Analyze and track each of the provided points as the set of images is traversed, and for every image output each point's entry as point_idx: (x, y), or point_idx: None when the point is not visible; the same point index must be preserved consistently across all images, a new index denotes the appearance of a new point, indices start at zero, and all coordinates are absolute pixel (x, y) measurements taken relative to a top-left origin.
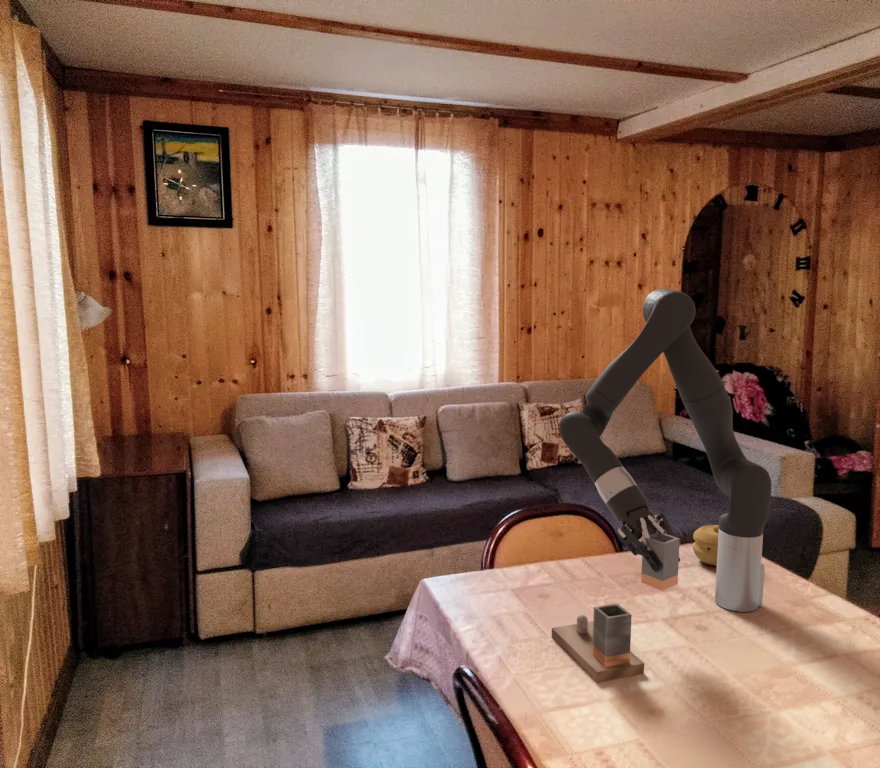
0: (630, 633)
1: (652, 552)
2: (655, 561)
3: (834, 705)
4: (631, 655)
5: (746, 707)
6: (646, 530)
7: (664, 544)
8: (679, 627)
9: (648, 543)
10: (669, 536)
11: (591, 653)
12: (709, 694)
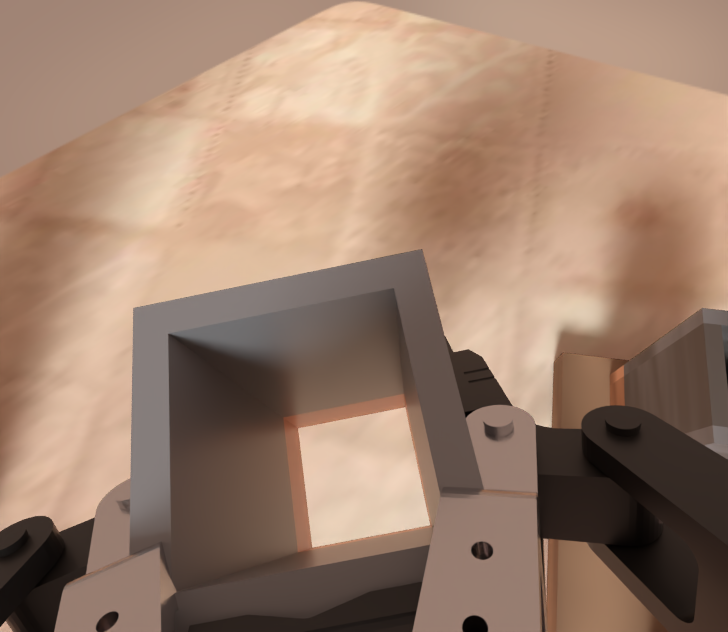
0: (658, 341)
1: (475, 400)
2: (465, 375)
3: (246, 103)
4: (575, 408)
5: (416, 155)
6: (444, 595)
7: (421, 250)
8: None
9: (484, 464)
10: (167, 413)
11: None
12: (454, 218)
